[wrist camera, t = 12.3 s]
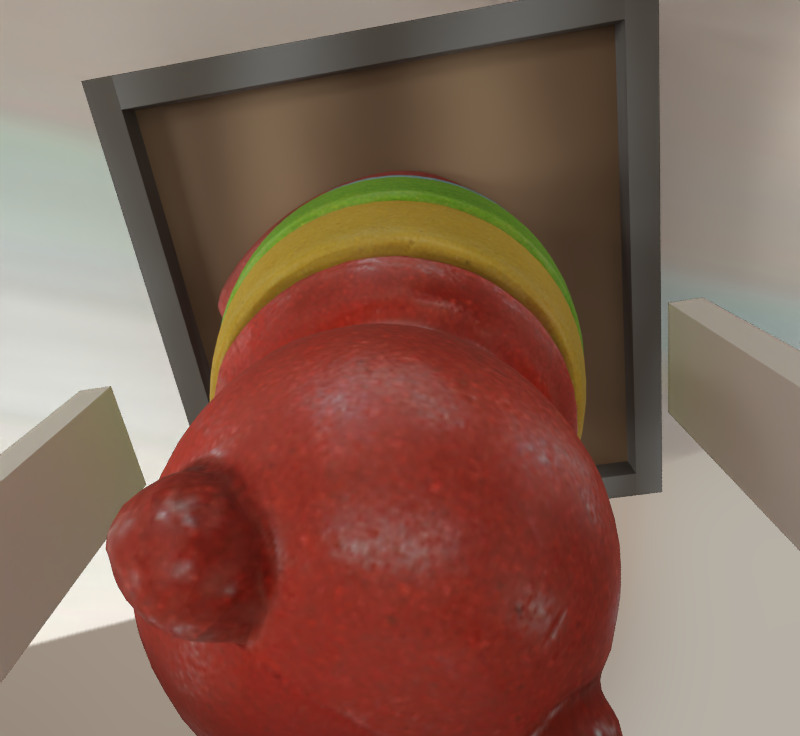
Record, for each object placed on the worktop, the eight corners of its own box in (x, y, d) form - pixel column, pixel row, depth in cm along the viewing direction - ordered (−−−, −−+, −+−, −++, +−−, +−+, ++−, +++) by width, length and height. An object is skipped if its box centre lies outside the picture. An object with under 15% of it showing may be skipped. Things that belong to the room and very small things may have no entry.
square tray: (255, 482, 30) (227, 546, 26) (145, 91, 24) (81, 81, 19) (621, 434, 29) (661, 491, 24) (607, 7, 23) (658, -26, 18)
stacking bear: (202, 314, 23) (-341, 780, 6) (368, 88, 20) (168, -133, 3) (419, 474, 25) (435, 1121, 9) (596, 293, 22) (1123, 743, 6)
